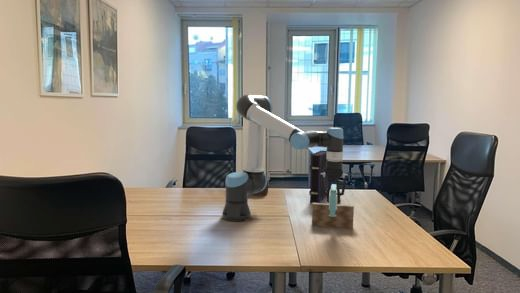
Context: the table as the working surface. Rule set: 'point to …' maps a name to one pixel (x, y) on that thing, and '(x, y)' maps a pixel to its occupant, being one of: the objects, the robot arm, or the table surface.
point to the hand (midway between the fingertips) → (332, 208)
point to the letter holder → (263, 191)
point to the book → (318, 176)
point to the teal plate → (333, 200)
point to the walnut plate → (340, 220)
